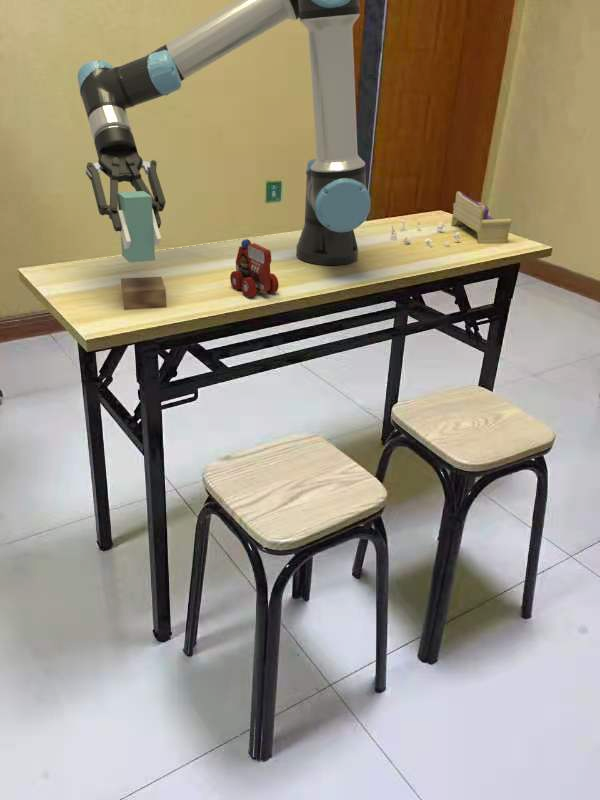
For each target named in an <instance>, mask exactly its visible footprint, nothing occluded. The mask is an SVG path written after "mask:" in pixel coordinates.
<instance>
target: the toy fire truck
mask: <svg viewBox="0 0 600 800" xmlns="http://www.w3.org/2000/svg"><path fill="white" fill-rule="evenodd" d="M271 264H272V252H271V250H270V249H268V248H266V247H263V246H261V245H259V244H257V243H253V242H251V240H249V239H243V240H242V241H241V244H240V246H239V247H238V251H237V255H236V259H235V270H234V271H231V273H230V285H231V286H232V288H233V290H235V291H240V290H241V291H242V295H244V297H246V298H253V297H255V296H256V293H257V292H266V293H267V294H275V293H277V291H278V289H279V287H280V286H279V280H278V277H277V275H276V274H275V273H273V272H271Z"/></svg>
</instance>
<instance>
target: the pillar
mask: <svg viewBox="0 0 600 800" xmlns="http://www.w3.org/2000/svg"><path fill="white" fill-rule="evenodd" d="M117 194H118V210H122V211H123V215H124V218H125V222H126V225H127V229H128V232H129V236H130V239H131V243H130V246H129V249H125V247H124V244H123V240H122V237H121V236H120V242H121V243H120V245H121V255H122V257H123V258H124V259H125V260H126V261H127V262H128V263H138V262H139V263H141V262H148V261H149V262H151V261H156V253H155V252H156V251H155V249H156V248H155V245H154V233H153V213H152V197H153V195H152V196H150V195H149V194H147V193H146V192H144V191H136V190H135V191H134V190H133V191H121V192H120V191H118V192H117Z"/></svg>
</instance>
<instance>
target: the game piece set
mask: <svg viewBox="0 0 600 800" xmlns="http://www.w3.org/2000/svg"><path fill="white" fill-rule="evenodd" d="M401 223H402V226H401V228H399V229H398V231H399V232H401V233H402V232H403V233H405V232H407V230H408V228H406V227H405V224H406V220H405V219H403V220H401ZM417 224H418V226H416V227H417V231H419V232H420V231H422V227H421V225H420V220H417ZM390 227H391V228H392V229H391V235H390V240H391V241H397V239H398V238H397V233H395V231H396V230H395V227H394V224H391V225H390ZM444 227H445V224H444V223H443V221H440V222H439V223H438V224H437V228H436V231H437V233H438V234H442V230H443V228H444ZM450 237H451V238H453V239H454V240H455V242H456V243H460V240H461V232H460V231H457V232H454V234H453V235H451V236H450ZM424 240H425V243H426V245H424V248H426V249H427V248H428V249H429V248H430V249H431V243H432V238H429V237H427V238H426V239H424ZM402 242H404V243H405V245H406V246H407V245H408V244H410V243H411V239H409V238H408V236H406V235H405V237H404V239H403V241H402ZM444 247H447V248H448V247H450V242H449V240H448V239H447V241H445V243H444Z"/></svg>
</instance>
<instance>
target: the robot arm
mask: <svg viewBox="0 0 600 800" xmlns="http://www.w3.org/2000/svg"><path fill="white" fill-rule="evenodd" d="M360 6H361V5H360V0H236V1H234V2H233V3H231V4H230V5H228V6H227V7H224V8H223V9H222V10H220V11H218V12H216V13H215V14H213V15H212V16H210V17H208V18H206V19H205V20H203V21H201V22H200V23H199V24H197V25H195V26H193V27H192V28H190V29H188V30H187V31H184V32H183V33H182V34H180V35H178V36H177V37H176V38H173V39H171V41H169V42H167V43H165V44H164V45H162V46H160V47H159V48H157V49H155V50H154V51H152V52H150V53H148V54H146V55H144V56H142V57H139V58H138V59H137V58H136V59H134V60H133V61H130V62H127V63H124V64H122V65H120V66H117V67H113V66H112V65H111V64H110V63H109V62H107V61H105V60H98V61H96V60H89V61H87V62H85V63H83V64H82V65H81V66H80V68H79V70H78V73H77V81H78V87H79V94H80V97H81V99H82V102H83V106H84V109H85V113H86V116H87V120H88V124H89V129H90V132H91V135H92V139H93V143H94V147H95V151H96V154H97V157H98V161H97V162H95V163H93V162H87V163H86V167H85V174H86V176H87V177H88V179H89V180H90V182H91V186H92V189H93V190H92V191H93V193H94V198H95V201H96V205H97V210H98V213H99V215H101V216H105V215H107V216H108V218H109V219H110V220H111V223H112V226H113V230H114V231H115V232H120V238H121V237H122V240H123V244H124V247H125V249H129V246H130V243H131V239H130V236H129V232H128V229H127V225H126V222H125V218H124V215H123V211H122V210H119V206H118V194H117V192H119V183H121V182H127V183H130V185H131V186H132V187H133V188H134V189H135V191H144V192H146V193H147V194H149V195H150V196H152V213H153V233H154V247H159V245H160V243H161V240H162V235H161V233H160V228H161V225H162V220H161V215H160V212H163V211H164V209H165V206H166V204H167V203H166V198H165V196H164V193H163V188H162V186H161V183H160V179H159V176H158V172H157V165H158V164H157V163H158V162H157V161H156V160H153V159H152V160H151V161H150V162H149V161H145V160H143V158H142V157H141V156H140V154H139V152H138V148H137V145H136V141H135V137H134V134H133V132H132V127H131V124H130V121H129V117H128V115H127V111H126V109H127V110H128V109H130V108H133V107H136V106H137V105H140V104H144V103H146V102H150V101H153V100H156V99H158V98H161V97H164V96H165V97H167V96H169V95H171V93H174V92H176V91H179V90H180V89H181V87H182V82H183V81H184V80H185V79H187V78H189V77H191V76H192V75H194V74H196V73H197V72H200V71H201V70H203V69H205V68H206V67H208V66H209V65H211V64H213V63H214V62H216V61H217V60H220V59H222V58H223V57H224V56H226V55H228V54H230V53H231V52H233V51H235V50H237V49H239V48H240V47H242V46H243V45H245V44H247V43H249V42H250V41H252V40H254V39H255V38H257V37H259V36H261V35H262V34H264V33H266V32H268V31H269V30H271V29H272V28H274V27H276V26H278V25H279V24H281V23H283V22H284V21H286V20H288V19H289V20H292V21H297V20H299V22H300V23H301V25H303V26H304V27H305V28H306V30H307V32H308V43H309V44H308V47H309V59H310V74H311V86H312V87H311V89H312V104H313V116H314V117H313V118H314V131H315V133H314V134H315V147H316V158H312V159H309V160H308V161H307V165H306V170H305V174H306V181H305V185H306V187H305V202H304V203H305V207H304V208H305V209H304V210H305V211H304V225H303V226H302V227H303V228H302V229H301V230H302V231H301V233H300V236H299V239H298V240H297V241H298V243H297V244H296V251H295V252H296V253H295V254H296V256H295V257H297V259H299V260H300V261H302V262H305V263H309V264H315V265H321V266H339V265H340V266H342V265H347V264H351V263H353V262H356V261H357V260H358V255H359V248H358V247H359V246H358V243H357V238H356V234H355V231H354V230H356V229H357V228H359V227H361V225H362V224H364V222H365V221H366V220H367V218H368V216H369V214H370V211H371V196H370V192H369V190H368V188H367V179H366V178H367V174H366V172H367V171H366V162H365V160H364V159H362V158H361V156H359V154H358V130H357V129H358V127H357V110H356V109H357V108H356V84H355V83H356V82H355V81H356V80H355V59H354V56H355V55H354V34H353V33H354V32H353V28H354V25H355V23H356V21H357V20H358V19H359V17H360V15H361V14H360V11H361V10H360V9H361V8H360ZM141 169H143V170H144V171H143V172H144V173H145V175H147V179H148V183H149V187H150V190H151V191H150V190H149V188H148V187H147V185H146V183H145V181H144V179H143V178H142V174H141V172H140V171H141ZM101 172H103V173H104V174H105V175H106V176H107V177H108V178H109V204H108V203H107V199H106V195H105V192H104V187H103V183H102V179H101V176H100V173H101Z"/></svg>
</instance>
